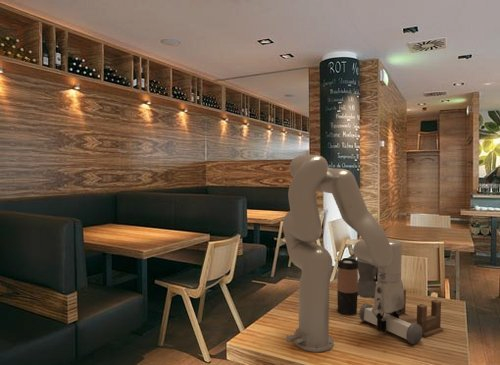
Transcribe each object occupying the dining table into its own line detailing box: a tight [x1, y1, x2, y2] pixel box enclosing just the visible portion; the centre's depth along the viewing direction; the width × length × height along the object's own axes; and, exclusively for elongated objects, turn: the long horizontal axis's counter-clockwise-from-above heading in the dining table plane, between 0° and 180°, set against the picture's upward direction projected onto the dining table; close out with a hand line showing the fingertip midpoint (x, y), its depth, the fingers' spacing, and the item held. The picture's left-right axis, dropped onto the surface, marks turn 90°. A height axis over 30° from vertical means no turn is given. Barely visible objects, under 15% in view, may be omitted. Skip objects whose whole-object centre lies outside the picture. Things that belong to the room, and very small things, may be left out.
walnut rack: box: [387, 288, 444, 339], centre depth 134 cm, size 18×10×10 cm, turn 31°
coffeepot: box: [356, 258, 378, 298], centre depth 164 cm, size 15×9×18 cm, turn 17°
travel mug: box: [336, 258, 359, 316], centre depth 145 cm, size 8×8×20 cm
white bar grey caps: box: [358, 303, 423, 346], centre depth 128 cm, size 21×6×6 cm, turn 31°
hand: (388, 328), depth 128 cm, fingers open, 5 cm apart
